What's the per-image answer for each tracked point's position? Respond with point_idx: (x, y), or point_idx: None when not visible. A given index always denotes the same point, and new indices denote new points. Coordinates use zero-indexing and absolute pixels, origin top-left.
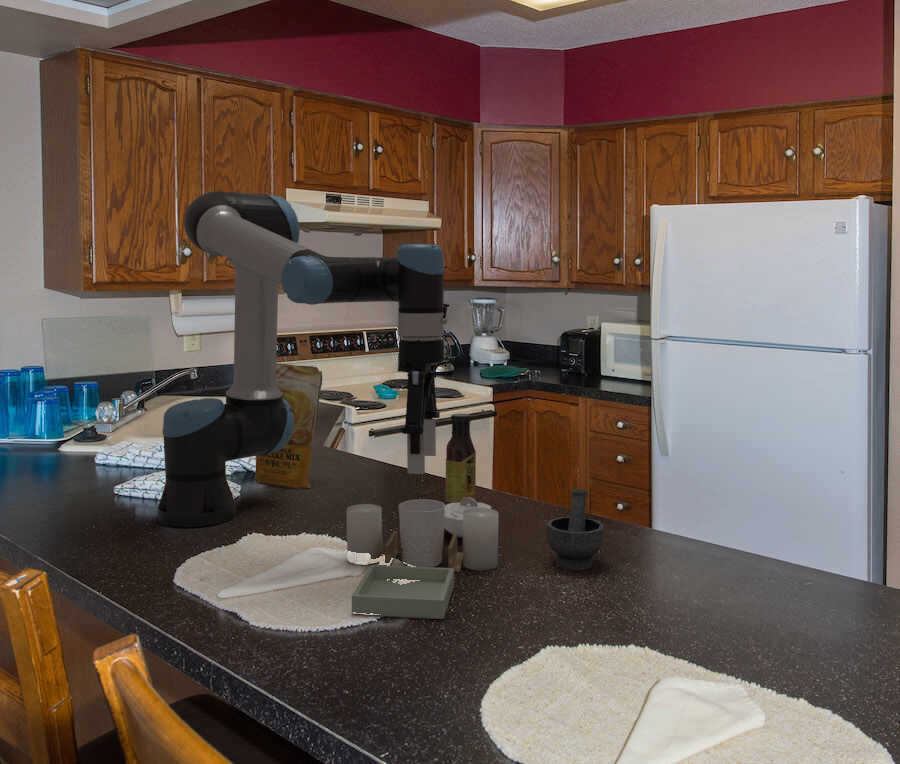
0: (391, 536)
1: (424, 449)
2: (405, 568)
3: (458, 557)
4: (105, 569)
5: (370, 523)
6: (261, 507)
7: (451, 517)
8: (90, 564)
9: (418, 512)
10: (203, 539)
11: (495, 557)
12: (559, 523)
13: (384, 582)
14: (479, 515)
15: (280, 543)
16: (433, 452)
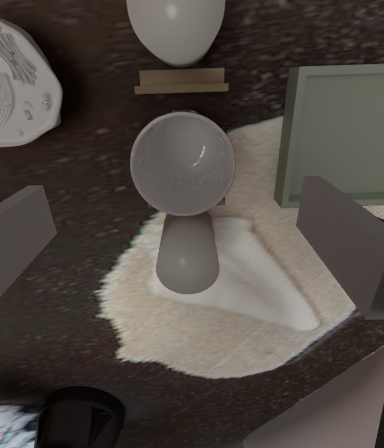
0: None
1: (347, 208)
2: (294, 155)
3: (168, 79)
4: (247, 414)
5: (213, 244)
6: (23, 377)
7: (55, 112)
8: (235, 425)
9: (235, 166)
10: (153, 386)
11: None
12: None
13: (298, 178)
14: (202, 3)
15: (147, 326)
16: (37, 195)
